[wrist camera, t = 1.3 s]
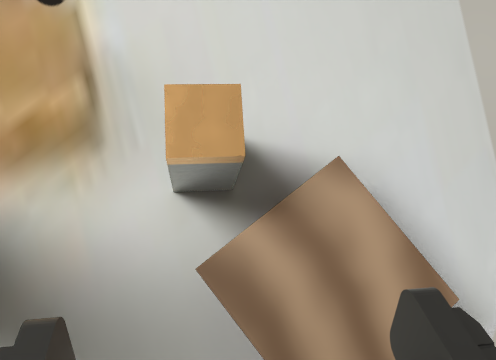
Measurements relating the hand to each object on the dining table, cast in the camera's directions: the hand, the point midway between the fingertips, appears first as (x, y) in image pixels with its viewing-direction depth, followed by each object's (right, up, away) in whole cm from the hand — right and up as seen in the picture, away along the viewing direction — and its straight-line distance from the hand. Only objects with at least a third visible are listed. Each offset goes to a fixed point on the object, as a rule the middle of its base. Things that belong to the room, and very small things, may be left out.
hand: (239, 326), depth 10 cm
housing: (-4, +5, +27) cm, 28 cm away
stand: (+6, -5, +26) cm, 27 cm away
